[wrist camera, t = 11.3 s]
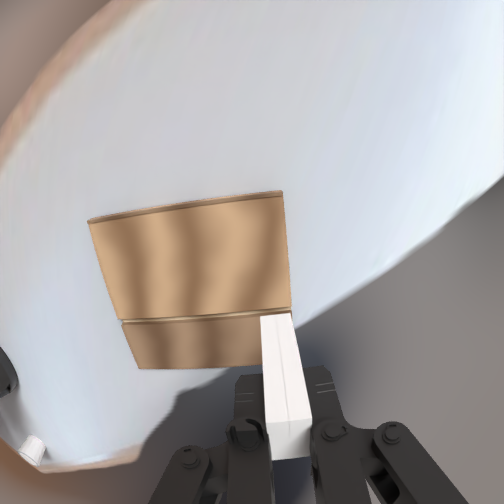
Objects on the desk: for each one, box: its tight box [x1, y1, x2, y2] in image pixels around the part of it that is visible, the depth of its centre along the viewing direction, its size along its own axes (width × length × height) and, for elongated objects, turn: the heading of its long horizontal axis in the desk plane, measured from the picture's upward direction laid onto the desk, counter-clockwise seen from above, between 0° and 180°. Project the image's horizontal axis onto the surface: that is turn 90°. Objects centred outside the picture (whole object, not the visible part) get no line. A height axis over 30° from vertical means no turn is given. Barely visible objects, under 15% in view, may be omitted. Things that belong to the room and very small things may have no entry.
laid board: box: [121, 306, 292, 369], centre depth 34 cm, size 20×7×1 cm, turn 97°
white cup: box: [18, 435, 46, 467], centre depth 46 cm, size 7×7×7 cm
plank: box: [87, 190, 292, 319], centre depth 30 cm, size 20×12×1 cm, turn 97°
